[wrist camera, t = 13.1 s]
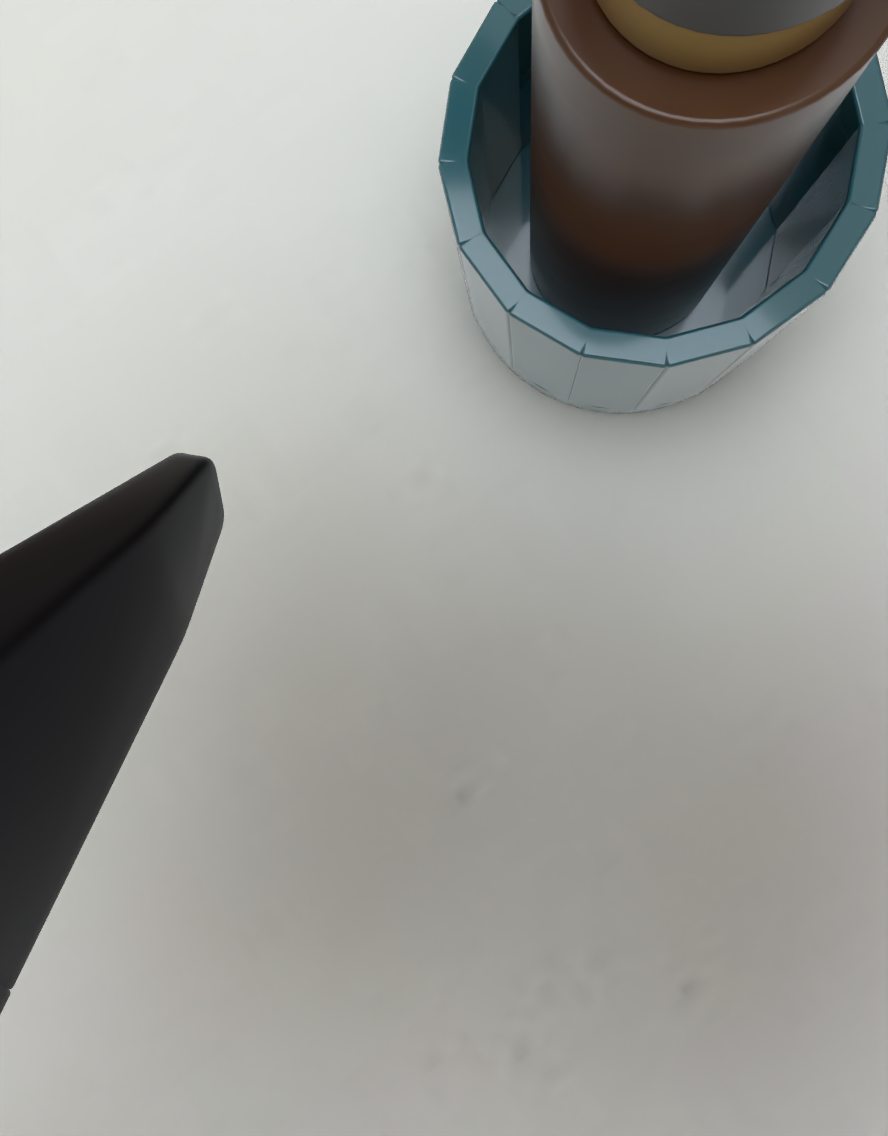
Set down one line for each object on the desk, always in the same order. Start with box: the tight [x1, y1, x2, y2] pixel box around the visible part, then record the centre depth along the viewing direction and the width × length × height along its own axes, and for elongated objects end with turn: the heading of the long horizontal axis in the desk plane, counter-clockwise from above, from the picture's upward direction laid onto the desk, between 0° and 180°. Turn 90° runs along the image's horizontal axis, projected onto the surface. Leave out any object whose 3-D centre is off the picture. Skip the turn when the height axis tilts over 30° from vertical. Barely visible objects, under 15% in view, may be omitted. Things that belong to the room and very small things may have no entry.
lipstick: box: [530, 0, 888, 335], centre depth 11 cm, size 4×4×12 cm
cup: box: [438, 0, 888, 413], centre depth 16 cm, size 7×7×5 cm
